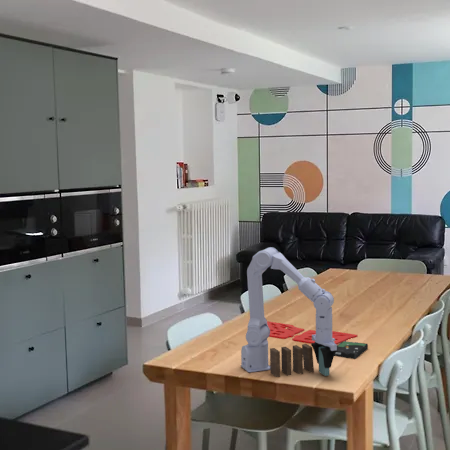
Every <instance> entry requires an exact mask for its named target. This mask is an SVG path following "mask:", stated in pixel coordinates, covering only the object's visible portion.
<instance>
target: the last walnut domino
mask: <svg viewBox="0 0 450 450" xmlns="http://www.w3.org/2000/svg"><path fill="white" fill-rule="evenodd" d="M269 351H270V352H269V358H270V359H269V363H270V364H269V366H270V370H269V371H270V375H272V376H273V377H275V378H279V377H281V350H278V349H277V348H275V347H272V348H271V347H270V348H269Z"/></svg>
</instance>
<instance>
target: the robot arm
mask: <svg viewBox="0 0 450 450" xmlns="http://www.w3.org/2000/svg"><path fill="white" fill-rule="evenodd" d="M268 268H270V269H271V270H272V269H273V270H280V271H281V272H283V273H284V274H285V275H286V276H287V277H288V278H290V279H291V280H292V281H293V282H295V283H296V284H297V289H298V291H300V292H301V293H302V294H303V295H304V296H305V297H306V298H307V299H308V300H309V301H311V302H312V303H313V307H314V308H315V331H316V334H315V335H312V340H313V341H315V343H311V344H310V346H311V347H312V350H313V351H314V355H315V359H316V362H317V364H318V365H319V347H322V346H323V347H325V348H320V350H321V352H322V355H323V360H324V367H325V368H329V369H330V368H332V365H333V360H334V358H335V356H334V355H335V353H336V352H337V345H338V344H337V345H336V344H335V343H334V341H336V340H335V339H334V338H332V331H333V307H332V306H333V305H334V303H335V302H334V301H335V299H334V298H335V297H334V296H333V295H332V293H331V292H329V291H327V290H326V289H325V288H322V287H321V286H320V285H319V284H318V283H316V279H315V278H314V277H313V278H311V277H309V276H307V277H305V276H304V275H303V274H302V273H301V272H300V270H298V269H297V268H296V267H295V266H294V265H293V264H292V263H291V262H290V261H289V260H288V259H287V258H286V257H285V255H284V254H283V253H281V252H280V251H278V249H276V248H275V247H273V246H272V247H271V246H270V247H266V248H265V249H262V250H259V251H258V252H256V253H255V254H254V255H253V256H252V258H251V261H250V263H249V265H248V266H247V270H246V276H247V279H246V280H247V291H248V295H247V296H248V307H249V321H248V324H247V331H246V333H245V340H246V342H247V344H246V345H242V346H241V349H240V353H241V355H240V356H241V359H240V360H241V361H240V362H241V364H240V367H241V368H242V369H243V370H245V371H246V372H248V373H255V372H263V371H270V364H269V341H268V338H270V337H269V335H270V329H269V327H268V325H267V321H268V320H267V319H266V316H265V306H264V304H265V303H264V288H263V273H264V272H266V271H267V269H268Z"/></svg>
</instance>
